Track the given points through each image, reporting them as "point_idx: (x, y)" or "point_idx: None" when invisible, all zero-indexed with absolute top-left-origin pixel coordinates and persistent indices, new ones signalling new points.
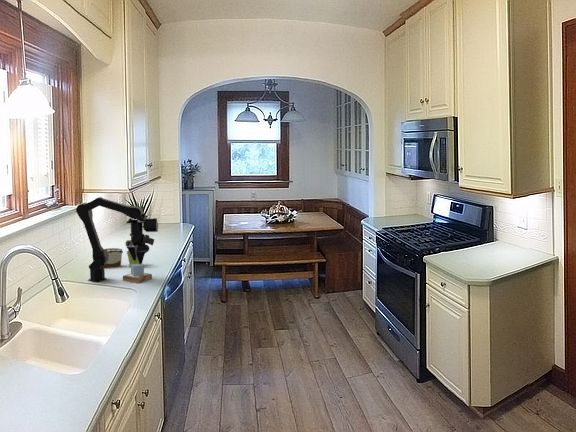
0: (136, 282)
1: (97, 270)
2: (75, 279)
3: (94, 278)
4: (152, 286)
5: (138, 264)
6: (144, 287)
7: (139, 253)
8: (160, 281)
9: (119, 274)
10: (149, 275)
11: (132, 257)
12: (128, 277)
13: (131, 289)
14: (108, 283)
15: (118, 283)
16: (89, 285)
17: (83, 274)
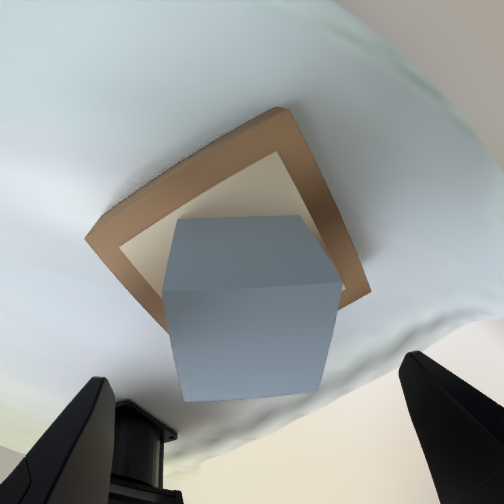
0: None
1: (157, 484)
2: None
3: (161, 452)
4: (475, 208)
5: (227, 333)
6: (459, 259)
7: (495, 499)
8: (411, 87)
9: (12, 312)
10: (307, 147)
11: (111, 454)
12: None
13: (435, 328)
14: (231, 407)
15: None
16: (224, 452)
17: (13, 422)
